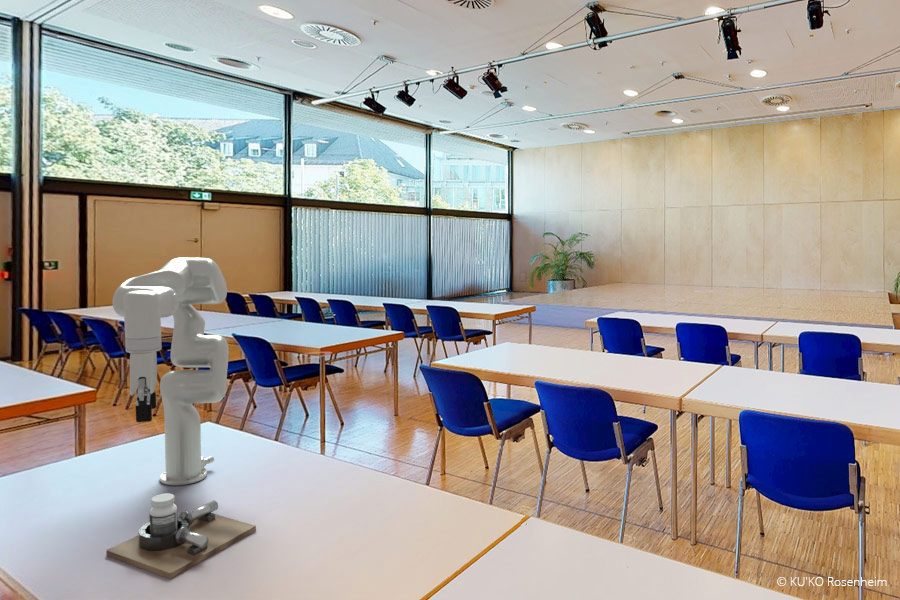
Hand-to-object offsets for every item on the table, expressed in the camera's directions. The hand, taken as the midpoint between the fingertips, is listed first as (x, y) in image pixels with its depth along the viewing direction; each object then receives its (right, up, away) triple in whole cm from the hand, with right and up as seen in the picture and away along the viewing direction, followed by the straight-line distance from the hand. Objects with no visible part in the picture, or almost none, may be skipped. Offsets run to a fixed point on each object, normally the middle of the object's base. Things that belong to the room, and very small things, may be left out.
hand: (146, 414), depth 144 cm
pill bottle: (+7, -27, -6) cm, 29 cm away
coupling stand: (+11, -28, -5) cm, 31 cm away
